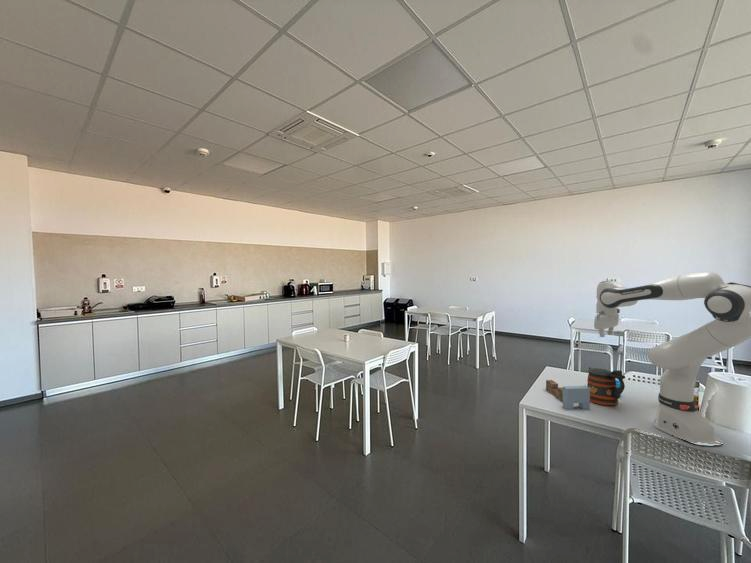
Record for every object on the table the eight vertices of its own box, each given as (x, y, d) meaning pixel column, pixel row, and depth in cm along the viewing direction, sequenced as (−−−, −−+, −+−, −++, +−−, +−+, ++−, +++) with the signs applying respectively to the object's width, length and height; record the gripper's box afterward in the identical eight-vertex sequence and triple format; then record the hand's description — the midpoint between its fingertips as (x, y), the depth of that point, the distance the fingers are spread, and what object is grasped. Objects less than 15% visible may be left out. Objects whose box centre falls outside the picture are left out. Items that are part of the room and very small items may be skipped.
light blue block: (585, 405, 163) (585, 385, 163) (589, 409, 160) (589, 388, 159) (562, 406, 164) (562, 386, 163) (566, 409, 160) (566, 388, 160)
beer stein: (633, 406, 161) (634, 369, 161) (616, 412, 156) (616, 373, 155) (596, 393, 179) (596, 359, 178) (579, 397, 174) (579, 363, 173)
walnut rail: (570, 402, 168) (570, 391, 167) (563, 402, 168) (564, 392, 167) (551, 389, 186) (551, 379, 185) (546, 389, 186) (546, 380, 185)
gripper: (604, 313, 157) (604, 339, 158) (621, 309, 168) (620, 334, 169) (590, 311, 163) (590, 337, 163) (607, 308, 173) (607, 332, 174)
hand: (606, 335), depth 166 cm, fingers open, 8 cm apart
